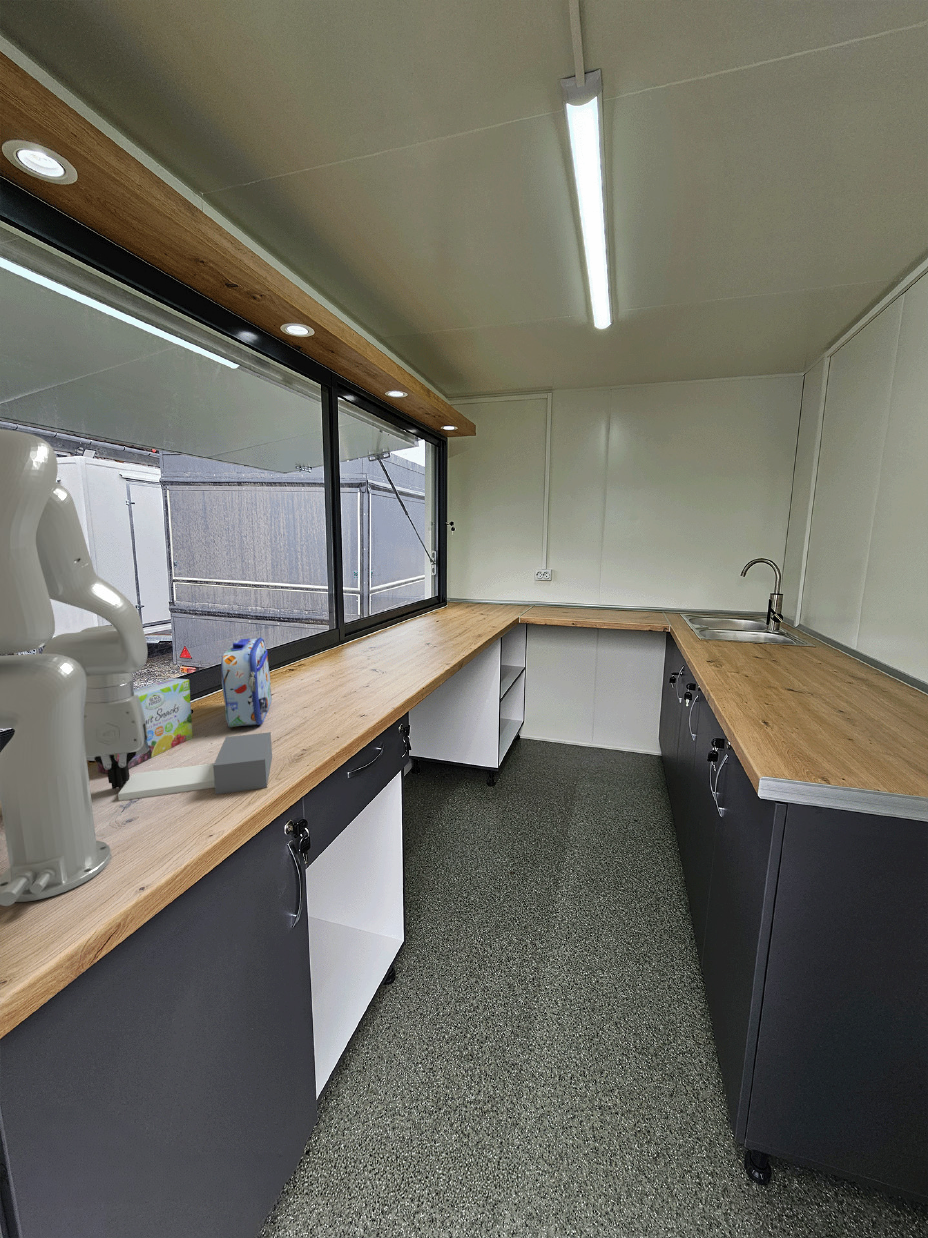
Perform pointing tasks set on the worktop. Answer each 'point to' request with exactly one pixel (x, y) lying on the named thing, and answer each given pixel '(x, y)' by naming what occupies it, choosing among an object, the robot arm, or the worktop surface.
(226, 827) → the worktop surface
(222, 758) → the gray block
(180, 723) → the snack box
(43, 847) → the robot arm
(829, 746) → the worktop surface
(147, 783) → the cutting board
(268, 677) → the lunch box
